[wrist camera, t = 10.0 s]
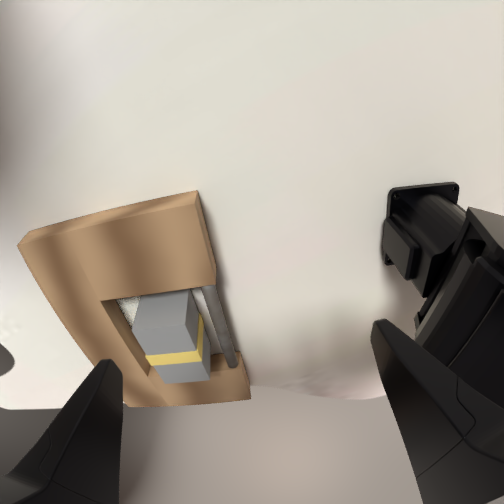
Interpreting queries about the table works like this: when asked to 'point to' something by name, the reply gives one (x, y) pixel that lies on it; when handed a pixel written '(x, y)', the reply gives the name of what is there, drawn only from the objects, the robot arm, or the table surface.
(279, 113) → the table surface
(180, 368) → the grey banded block
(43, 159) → the table surface
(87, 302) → the brown wooden flat frame
